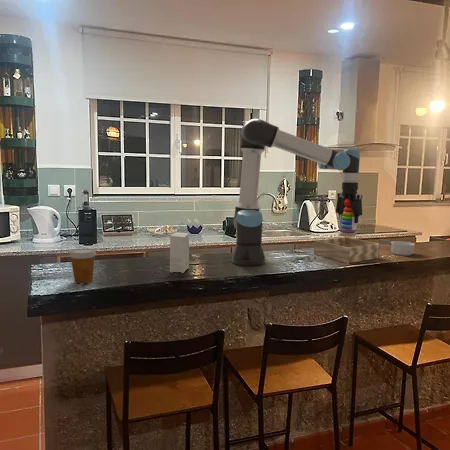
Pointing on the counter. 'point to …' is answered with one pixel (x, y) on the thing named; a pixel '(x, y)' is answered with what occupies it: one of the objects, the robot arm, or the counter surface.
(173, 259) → the skincare box
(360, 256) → the open-top box
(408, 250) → the saucepan
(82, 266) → the disposable coffee cup
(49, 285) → the counter surface
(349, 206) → the stacking toy
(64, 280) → the counter surface
